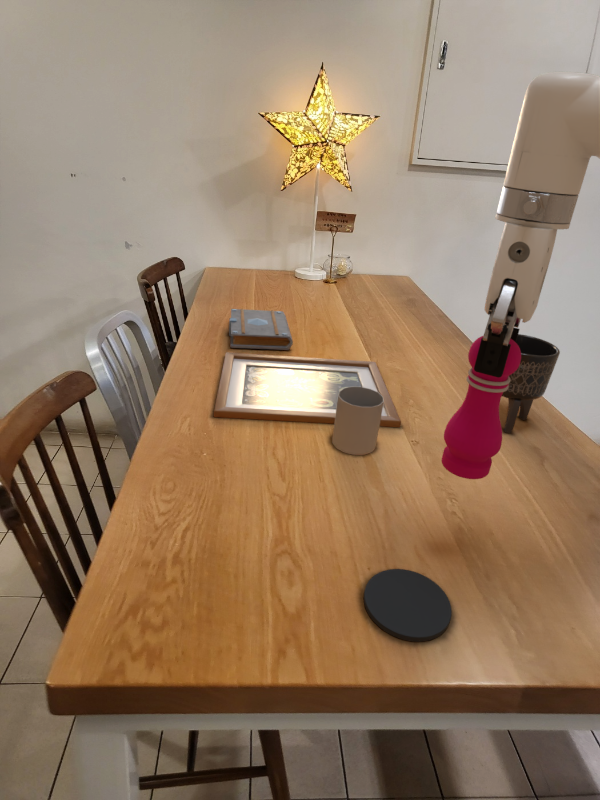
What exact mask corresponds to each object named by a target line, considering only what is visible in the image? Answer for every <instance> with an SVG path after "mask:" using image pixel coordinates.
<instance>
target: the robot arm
mask: <svg viewBox="0 0 600 800" xmlns="http://www.w3.org/2000/svg"><path fill="white" fill-rule="evenodd" d="M591 157H596V158H598V159H599V160H600V75H598V74H593V73H587V72H578V71H549V72H543V73H539V74H538V75H536V76H535V77H533V78H532V80H531V81H530V82H529V83H528V85H527V88H526V90H525V93H524V96H523V102H522V105H521V110H520V113H519V117H518V122H517V125H516V130H515V135H514V138H513V142H512V147H511V151H510V154H509V159H508V163H507V168H506V171H505V176H504V180H503V186H502V189H501V193H500V197H499V201H498V205H497V210H496V212H495V216H494V217H495V220H497V221H500V222H504V225H503V229H502V232H501V236H500V240H499V244H498V248H497V252H496V256H495V259H494V262H493V268H492V271H491V277H490V280H489V285H488V289H487V293H486V298H485V304H484V312H485V313H486V314H487V315H488V319H487V323H486V325H485V329H484V333H483V335H482V336H483V338H482V339H481V343H480V347H479V351H478V354H477V358H476V362H475V366H474V370H475V371H476V372H479V373H483V374H487V375H490V376H494V377H501V376H502V375H503V372H504V368H505V365H506V361H507V357H508V354H509V350H510V347H511V344H509V341H510V338H511V339H512V340H513V341H515V342H516V340H517V337H518V334H520V333H519V332H520V328H519V327H520V323H521V322H522V323H527V322H529V321H531V320H532V317H533V315H534V314H535V312H536V309H537V307H538V304H539V300H540V298H541V297H540V296H541V294H542V289H543V287H544V283H545V279H546V275H547V272H548V269H549V266H550V262H551V259H552V254H553V251H554V246H555V242H556V238H557V232H558V230H569V228H570V226H571V222H572V219H573V216H574V212H575V209H576V205H577V202H578V198H579V195H580V193H581V189H582V187H583V183H584V179H585V176H586V173H587V169H588V167H589V166H588V165H589V162H590V159H591ZM521 320H522V321H521ZM504 324H506V325H504ZM507 326H508V328H507Z"/></svg>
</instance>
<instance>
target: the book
mask: <svg viewBox="0 0 600 800" xmlns="http://www.w3.org/2000/svg"><path fill="white" fill-rule="evenodd" d="M228 323H229V324H228V336H229V337H230V348H232V349H254V350H255V349H257V350H280V351H281V350H282V351H283V350H284V351H289V350H290V349H291V348H292V346H293V342H294V341H293V338H292V337H293V336H292V334H291V330H290V327H289V323H288V318H287V315H286V313H285V312H284V311H283V310H282V311H281V310H263V309H244V308H230V318H229V322H228Z"/></svg>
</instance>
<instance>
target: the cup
mask: <svg viewBox="0 0 600 800" xmlns="http://www.w3.org/2000/svg"><path fill="white" fill-rule="evenodd" d="M383 403H384V399H383V396H382V395H381V394H379V393H378V392H376V391H374V390H372V389H369V388H364V387H347V388H343V389H342V390H340V391H339V394H338V401H337V408H336V416H335V423H334V424H333V431H332V438H331V439H332V440H331V444H332V445H333V446H334V447H335V449H336V450H339V451H340V452H343V453H345V454H349V455H353V456H364V455H368V454H371V453H373V452H374V450H376V447H377V440H378V437H379V430H380V427H381V426H380V420H381V414H382V409H383Z"/></svg>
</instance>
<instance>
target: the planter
mask: <svg viewBox="0 0 600 800" xmlns="http://www.w3.org/2000/svg"><path fill="white" fill-rule="evenodd" d="M516 343H517V345H518V346H519V348H520V351H521V361H520V365H519V367H518V369H517V370H516V371H515V372H514V373H512V374H511V375H509V377H510V380H511V381H510V383H509V384H508V386H509V388H508V389H507V390H506V391H504V392H503V394H502V396H501V397H503V398H506V399H507V401H508V404H507V405H508V407H507V413H506V414H507V415H506V420H505V424H504V428H503V431H504V433H506V434H512V432H513V429H514V426H515V423H516V420H517V417H518V418H519V419H520V420H521V421H525V420H527V419H528V416H529V413H530V411H531V408H532V405H533V402H534V401H535V400H538V399H540V398H542V396H544V394H546V393H545V392H546V391H547V388H548V385H549V383H550V380H551V378H552V375H553V372H554V369H555V367H556V364H557V362H558V359H559V356H560V354H561V351H560V349H559V348H558V346H557V345H555V344H553V343H551V342H549V341H547V340H545V339H542V338H538V337H535V336H531V335H526V334H521V333H518V337H517V340H516Z"/></svg>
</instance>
